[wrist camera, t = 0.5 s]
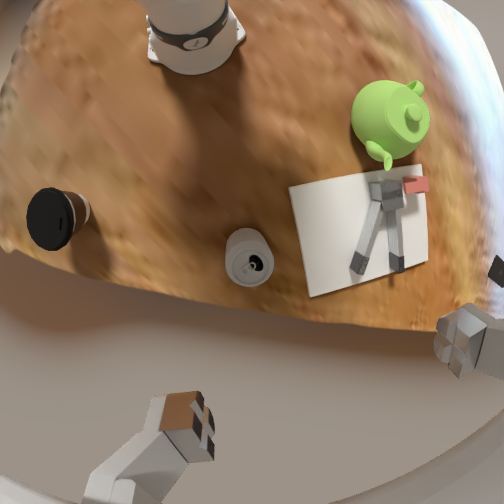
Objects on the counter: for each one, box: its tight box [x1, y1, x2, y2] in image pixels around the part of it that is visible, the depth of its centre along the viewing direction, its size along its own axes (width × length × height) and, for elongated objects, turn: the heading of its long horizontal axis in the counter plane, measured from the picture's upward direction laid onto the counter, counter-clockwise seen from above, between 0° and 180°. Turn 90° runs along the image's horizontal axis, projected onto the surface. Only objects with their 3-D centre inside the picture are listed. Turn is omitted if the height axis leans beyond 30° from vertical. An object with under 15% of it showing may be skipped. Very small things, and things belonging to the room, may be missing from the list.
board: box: [288, 164, 428, 297], centre depth 52 cm, size 22×30×2 cm
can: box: [225, 228, 274, 287], centre depth 46 cm, size 8×8×12 cm
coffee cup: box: [26, 187, 90, 251], centre depth 41 cm, size 11×11×12 cm
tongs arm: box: [349, 200, 384, 275], centre depth 50 cm, size 14×2×4 cm, turn 165°
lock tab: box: [403, 175, 429, 194], centre depth 47 cm, size 3×6×6 cm, turn 103°
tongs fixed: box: [368, 179, 405, 274], centre depth 49 cm, size 18×5×5 cm, turn 13°
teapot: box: [351, 80, 430, 171], centre depth 41 cm, size 22×15×13 cm
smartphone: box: [488, 255, 504, 288], centre depth 61 cm, size 7×1×15 cm
